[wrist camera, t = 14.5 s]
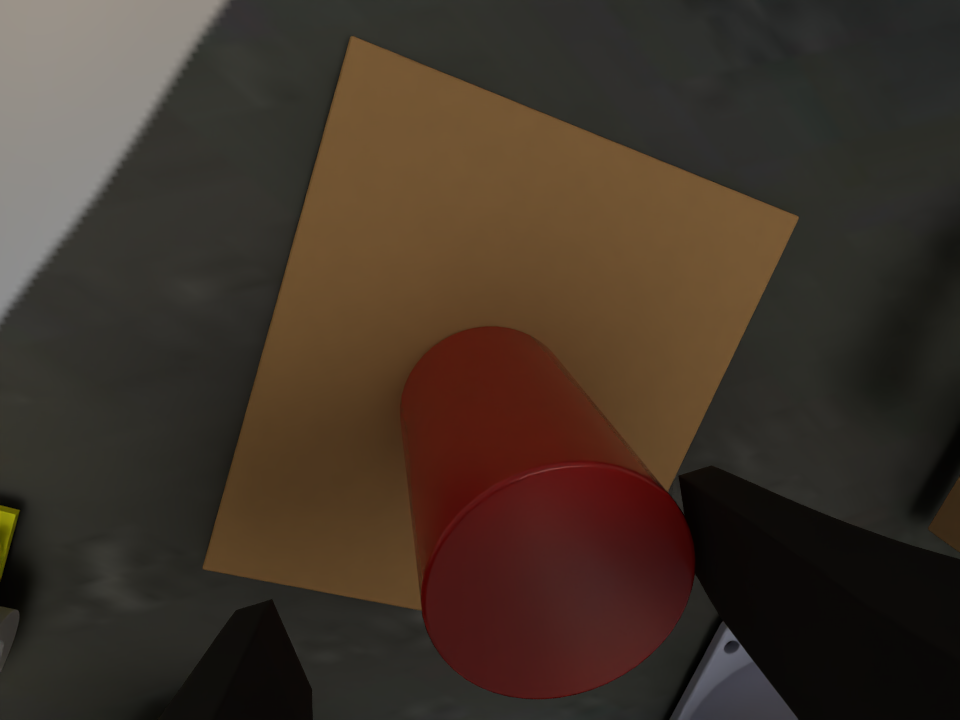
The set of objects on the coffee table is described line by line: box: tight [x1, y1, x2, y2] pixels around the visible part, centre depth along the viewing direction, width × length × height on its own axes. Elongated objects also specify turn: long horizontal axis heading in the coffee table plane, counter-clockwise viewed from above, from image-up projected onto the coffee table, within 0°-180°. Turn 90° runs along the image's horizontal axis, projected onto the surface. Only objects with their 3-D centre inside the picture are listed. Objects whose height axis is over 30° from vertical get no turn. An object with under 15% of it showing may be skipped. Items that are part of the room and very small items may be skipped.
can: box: [400, 326, 695, 699], centre depth 14 cm, size 5×5×8 cm
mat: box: [203, 36, 799, 611], centre depth 18 cm, size 14×12×1 cm
